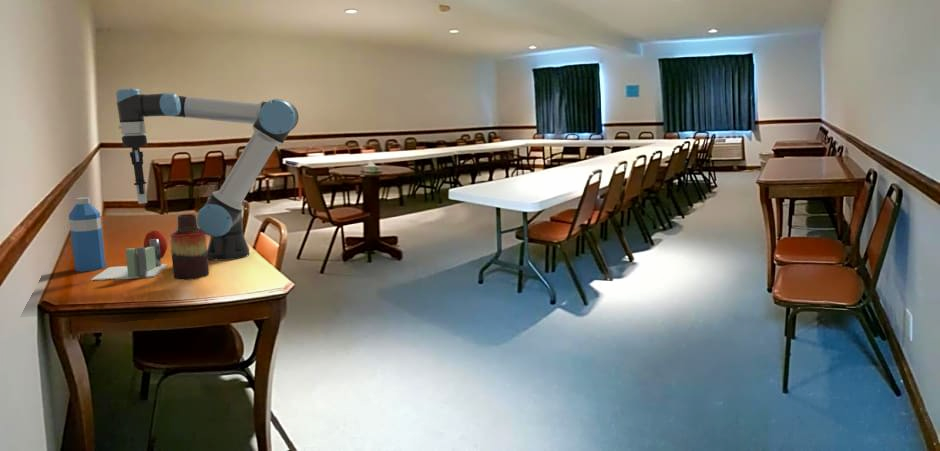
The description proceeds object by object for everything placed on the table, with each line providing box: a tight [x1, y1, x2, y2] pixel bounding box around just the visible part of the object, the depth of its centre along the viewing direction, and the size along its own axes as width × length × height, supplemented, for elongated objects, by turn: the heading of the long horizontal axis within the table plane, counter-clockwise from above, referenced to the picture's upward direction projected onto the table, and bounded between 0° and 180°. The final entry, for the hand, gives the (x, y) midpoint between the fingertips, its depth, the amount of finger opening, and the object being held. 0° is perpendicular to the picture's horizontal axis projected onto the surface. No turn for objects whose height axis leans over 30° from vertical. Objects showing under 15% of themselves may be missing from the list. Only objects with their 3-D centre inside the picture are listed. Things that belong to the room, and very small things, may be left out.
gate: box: [125, 247, 156, 277], centre depth 220 cm, size 15×2×9 cm, turn 1°
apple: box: [143, 230, 168, 258], centre depth 248 cm, size 8×8×11 cm
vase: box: [169, 213, 210, 281], centre depth 216 cm, size 11×11×20 cm
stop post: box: [136, 246, 147, 279], centre depth 215 cm, size 2×2×10 cm
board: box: [90, 263, 169, 282], centre depth 223 cm, size 19×18×1 cm
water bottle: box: [68, 196, 106, 272], centre depth 229 cm, size 9×9×25 cm
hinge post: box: [149, 239, 162, 267], centre depth 230 cm, size 3×3×10 cm
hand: (142, 203), depth 228 cm, fingers closed
